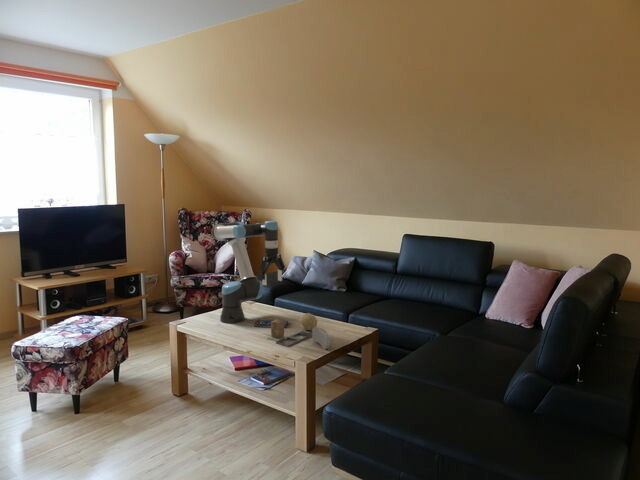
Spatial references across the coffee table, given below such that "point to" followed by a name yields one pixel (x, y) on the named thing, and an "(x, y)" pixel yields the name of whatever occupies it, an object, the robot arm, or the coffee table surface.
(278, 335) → the walnut block
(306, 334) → the grey slotted board
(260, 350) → the coffee table surface
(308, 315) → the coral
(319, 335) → the game controller
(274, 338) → the felt pad
